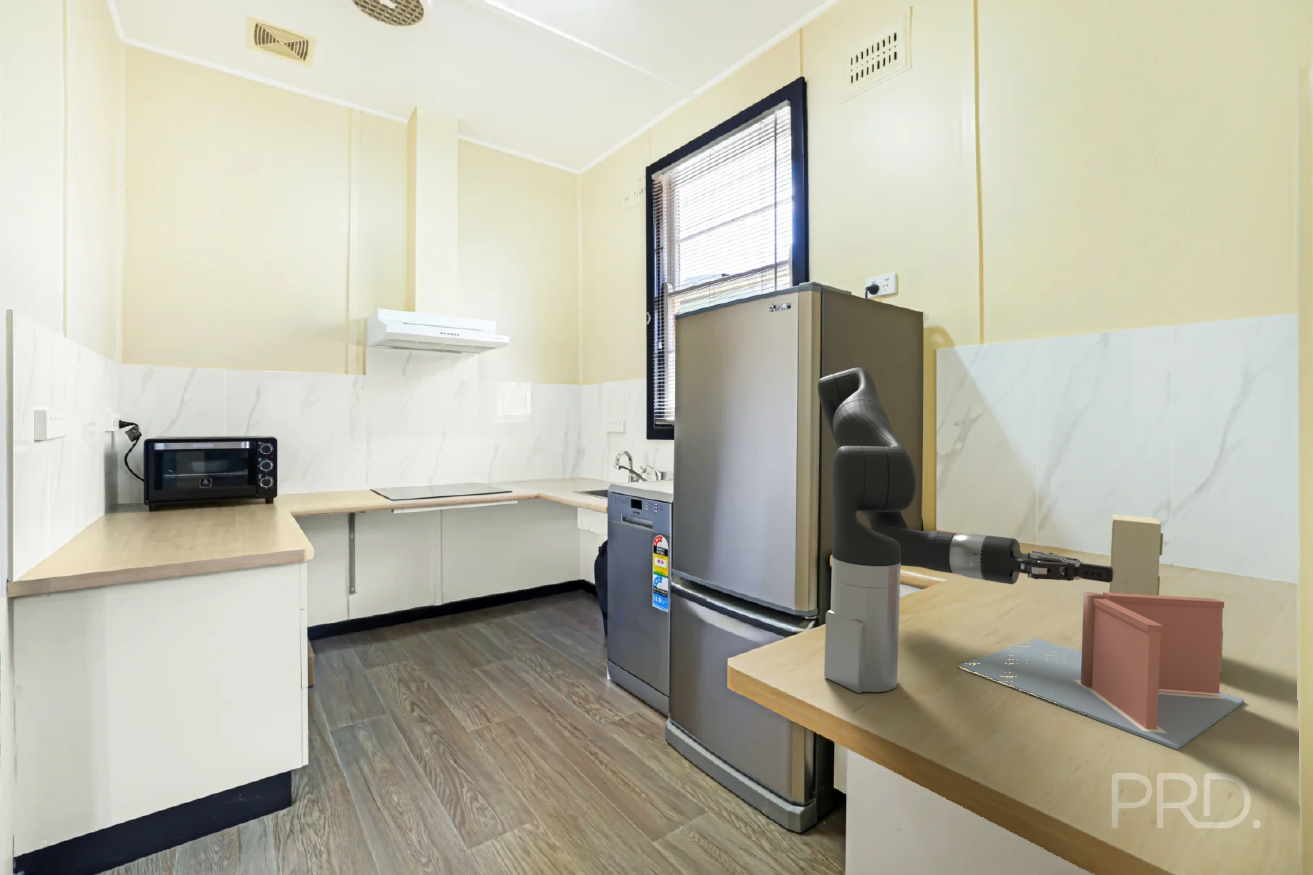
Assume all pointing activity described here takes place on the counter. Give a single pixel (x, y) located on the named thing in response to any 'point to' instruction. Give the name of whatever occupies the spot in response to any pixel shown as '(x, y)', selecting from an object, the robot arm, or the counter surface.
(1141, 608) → the panel
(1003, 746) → the counter surface
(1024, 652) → the card
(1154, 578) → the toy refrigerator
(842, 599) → the robot arm
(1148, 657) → the bar
